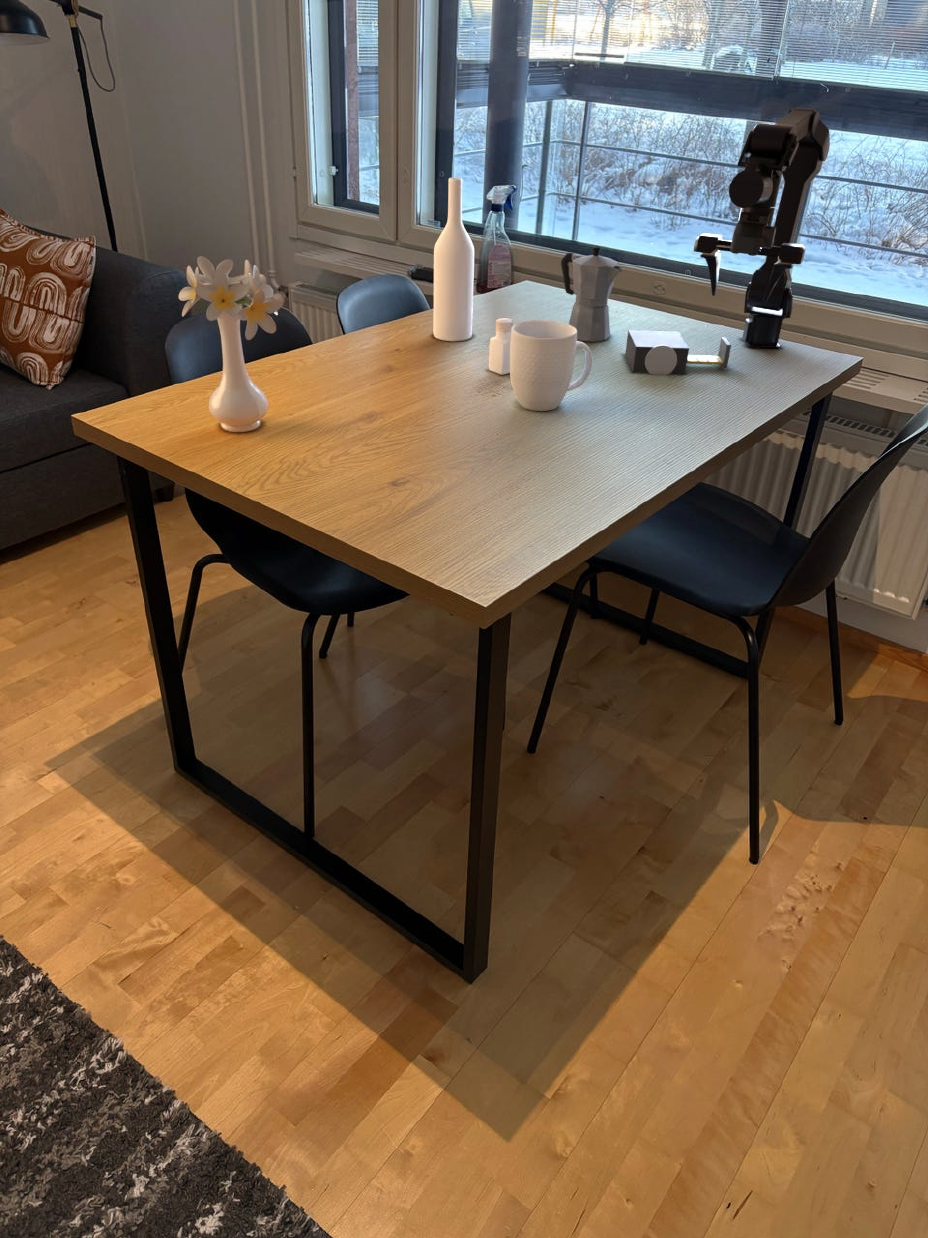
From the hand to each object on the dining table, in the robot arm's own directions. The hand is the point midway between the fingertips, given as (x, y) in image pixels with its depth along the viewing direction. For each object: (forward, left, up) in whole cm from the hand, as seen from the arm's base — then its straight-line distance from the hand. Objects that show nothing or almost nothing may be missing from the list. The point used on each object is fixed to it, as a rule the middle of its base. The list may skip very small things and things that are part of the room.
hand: (738, 298), depth 166 cm
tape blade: (+4, -5, -14) cm, 15 cm away
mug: (+36, +19, -14) cm, 43 cm away
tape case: (+13, -5, -14) cm, 20 cm away
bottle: (+53, -20, -14) cm, 58 cm away
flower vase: (+85, +33, -14) cm, 92 cm away
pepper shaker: (+43, +2, -14) cm, 45 cm away
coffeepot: (+25, -24, -14) cm, 37 cm away
